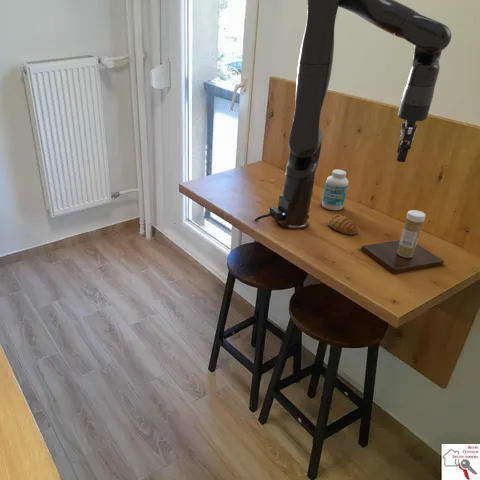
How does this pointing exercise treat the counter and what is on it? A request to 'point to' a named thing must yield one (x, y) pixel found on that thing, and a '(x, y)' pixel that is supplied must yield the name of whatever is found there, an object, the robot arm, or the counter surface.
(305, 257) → the counter surface
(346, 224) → the pastry
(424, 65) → the robot arm
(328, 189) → the pill bottle
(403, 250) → the sprinkles bottle
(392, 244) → the walnut board
